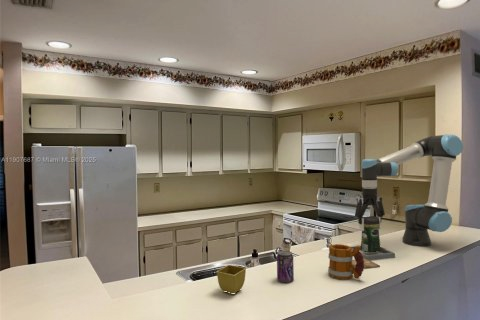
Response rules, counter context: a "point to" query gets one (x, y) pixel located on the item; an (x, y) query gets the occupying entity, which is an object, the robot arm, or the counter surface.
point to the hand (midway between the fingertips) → (370, 229)
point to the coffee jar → (370, 235)
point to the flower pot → (231, 278)
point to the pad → (366, 264)
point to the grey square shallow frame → (385, 254)
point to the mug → (345, 262)
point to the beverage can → (285, 266)
